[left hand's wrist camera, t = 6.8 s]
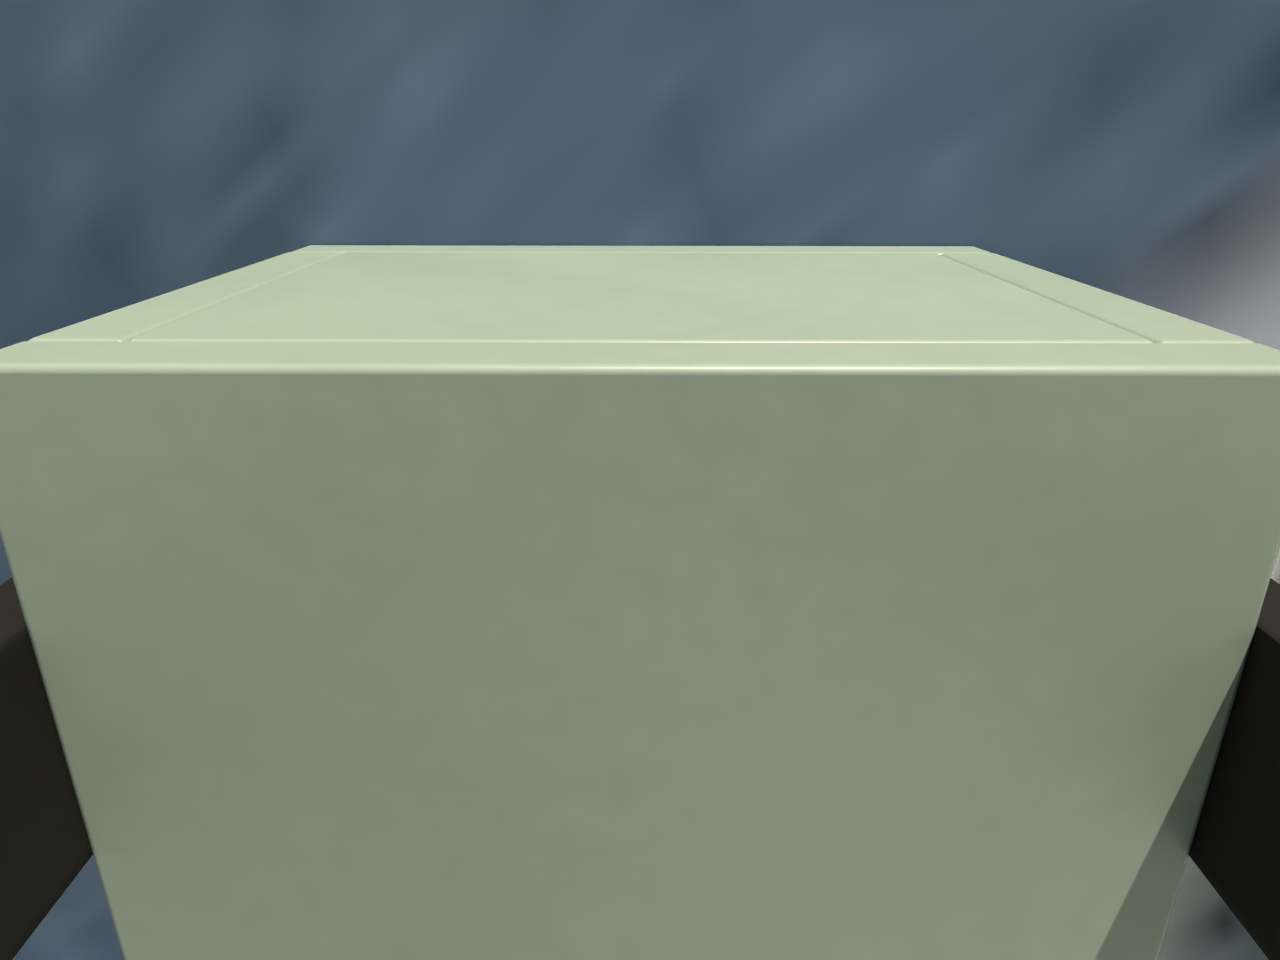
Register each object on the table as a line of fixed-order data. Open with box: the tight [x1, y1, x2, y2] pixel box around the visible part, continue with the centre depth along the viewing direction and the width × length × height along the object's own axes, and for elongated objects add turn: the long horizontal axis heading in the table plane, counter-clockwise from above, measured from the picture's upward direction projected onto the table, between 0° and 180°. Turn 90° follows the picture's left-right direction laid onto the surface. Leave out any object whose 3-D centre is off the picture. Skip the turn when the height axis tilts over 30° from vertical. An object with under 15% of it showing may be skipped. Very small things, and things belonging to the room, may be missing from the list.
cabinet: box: [0, 245, 1280, 960], centre depth 15 cm, size 20×11×8 cm, turn 0°
